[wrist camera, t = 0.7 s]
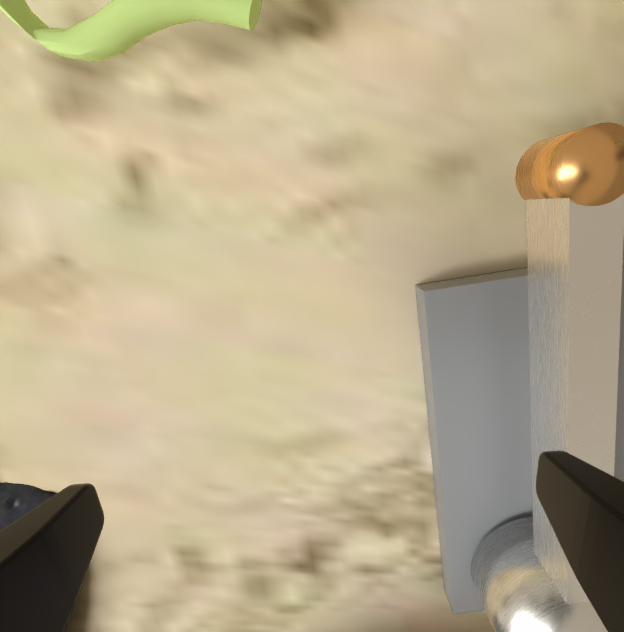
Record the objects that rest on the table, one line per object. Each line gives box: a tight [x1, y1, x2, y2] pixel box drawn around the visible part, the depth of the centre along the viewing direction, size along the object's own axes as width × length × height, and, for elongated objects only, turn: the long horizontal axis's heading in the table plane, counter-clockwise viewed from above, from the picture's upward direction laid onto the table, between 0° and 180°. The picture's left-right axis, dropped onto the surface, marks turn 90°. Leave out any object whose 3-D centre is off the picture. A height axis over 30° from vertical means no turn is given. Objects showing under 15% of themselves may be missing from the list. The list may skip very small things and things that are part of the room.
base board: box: [415, 252, 624, 614], centre depth 20 cm, size 18×16×2 cm
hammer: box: [471, 123, 624, 632], centre depth 13 cm, size 23×6×10 cm, turn 9°
